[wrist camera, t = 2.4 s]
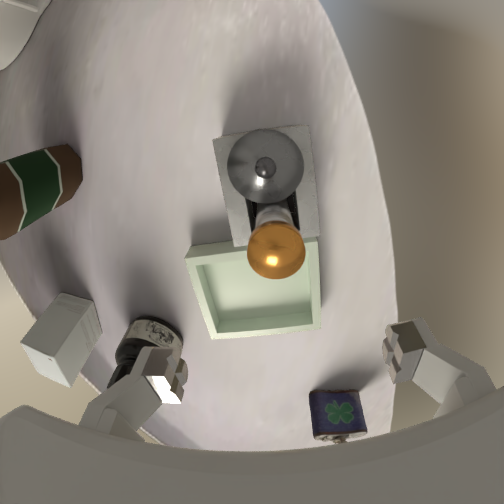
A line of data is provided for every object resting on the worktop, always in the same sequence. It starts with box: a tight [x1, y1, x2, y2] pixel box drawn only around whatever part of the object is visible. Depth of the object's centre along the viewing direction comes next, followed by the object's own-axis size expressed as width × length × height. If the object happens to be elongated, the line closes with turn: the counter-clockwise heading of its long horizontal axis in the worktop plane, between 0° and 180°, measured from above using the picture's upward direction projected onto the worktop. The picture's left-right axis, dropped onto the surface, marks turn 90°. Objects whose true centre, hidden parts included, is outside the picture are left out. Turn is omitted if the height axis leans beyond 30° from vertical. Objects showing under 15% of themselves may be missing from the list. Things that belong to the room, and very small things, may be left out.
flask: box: [309, 390, 367, 444], centre depth 39 cm, size 10×3×12 cm, turn 83°
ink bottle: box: [107, 316, 183, 389], centre depth 34 cm, size 10×9×12 cm
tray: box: [184, 237, 321, 339], centre depth 32 cm, size 12×14×3 cm
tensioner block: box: [212, 125, 320, 247], centre depth 24 cm, size 10×8×7 cm
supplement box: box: [21, 293, 102, 388], centre depth 33 cm, size 7×7×13 cm
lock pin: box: [247, 198, 306, 279], centre depth 23 cm, size 4×4×12 cm
